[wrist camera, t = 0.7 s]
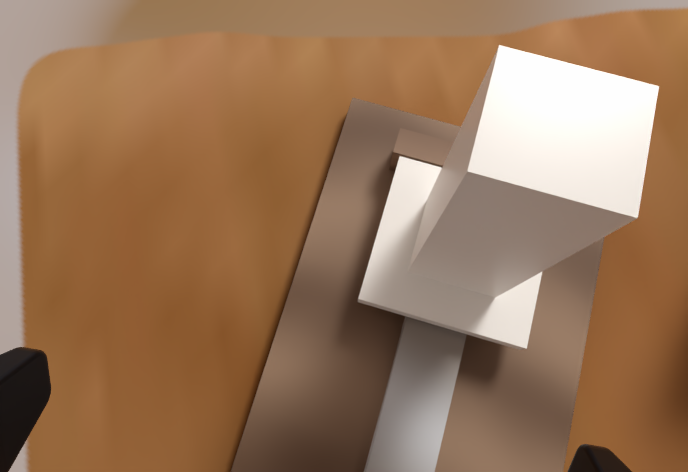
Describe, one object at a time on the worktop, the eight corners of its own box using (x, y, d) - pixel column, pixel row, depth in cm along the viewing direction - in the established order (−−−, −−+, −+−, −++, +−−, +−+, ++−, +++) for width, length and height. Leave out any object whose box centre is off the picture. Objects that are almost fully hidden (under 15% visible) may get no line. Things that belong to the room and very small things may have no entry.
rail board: (515, 673, 20) (544, 721, 17) (202, 568, 20) (181, 597, 18) (605, 177, 25) (639, 150, 22) (352, 108, 26) (353, 74, 23)
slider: (519, 349, 21) (706, 314, 10) (357, 302, 21) (374, 220, 11) (549, 205, 22) (738, 44, 12) (397, 163, 23) (447, -29, 12)
